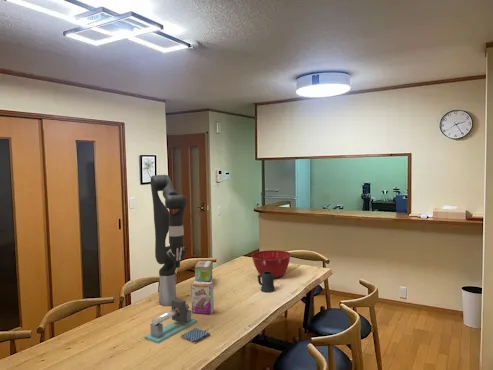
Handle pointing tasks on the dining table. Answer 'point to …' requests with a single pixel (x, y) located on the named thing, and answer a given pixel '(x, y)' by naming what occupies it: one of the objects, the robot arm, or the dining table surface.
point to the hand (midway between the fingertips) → (177, 267)
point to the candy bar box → (202, 297)
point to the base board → (170, 330)
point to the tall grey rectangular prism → (182, 310)
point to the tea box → (203, 271)
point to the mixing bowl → (271, 262)
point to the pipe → (157, 327)
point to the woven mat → (195, 335)
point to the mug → (267, 282)
